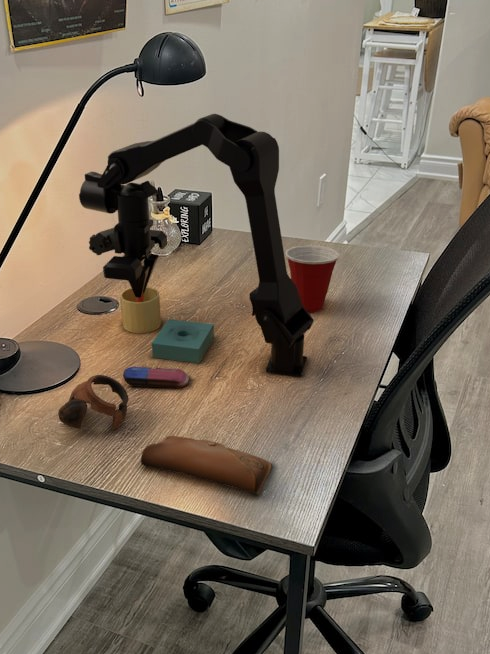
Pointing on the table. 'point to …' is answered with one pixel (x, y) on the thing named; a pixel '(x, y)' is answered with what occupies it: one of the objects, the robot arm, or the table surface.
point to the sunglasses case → (208, 462)
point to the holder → (183, 341)
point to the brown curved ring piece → (93, 402)
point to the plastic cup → (312, 273)
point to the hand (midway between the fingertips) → (139, 295)
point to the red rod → (140, 298)
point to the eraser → (155, 377)
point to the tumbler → (140, 311)
